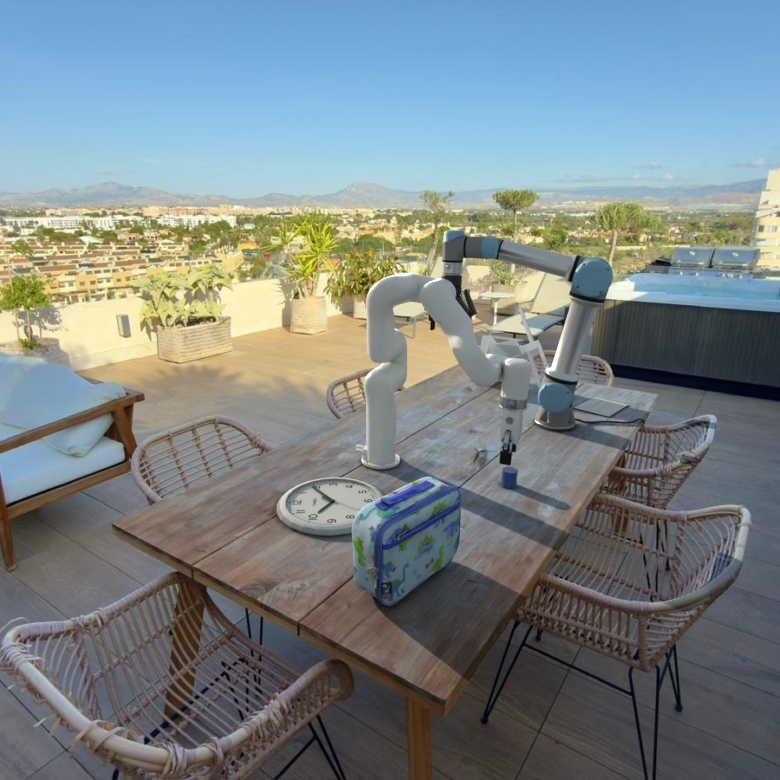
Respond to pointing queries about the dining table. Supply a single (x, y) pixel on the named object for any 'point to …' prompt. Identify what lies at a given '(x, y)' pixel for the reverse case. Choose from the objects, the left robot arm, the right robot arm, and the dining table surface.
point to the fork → (479, 450)
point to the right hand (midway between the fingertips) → (448, 331)
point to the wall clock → (325, 505)
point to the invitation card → (601, 406)
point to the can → (509, 477)
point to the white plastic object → (516, 349)
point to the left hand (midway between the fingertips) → (507, 457)
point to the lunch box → (405, 538)
